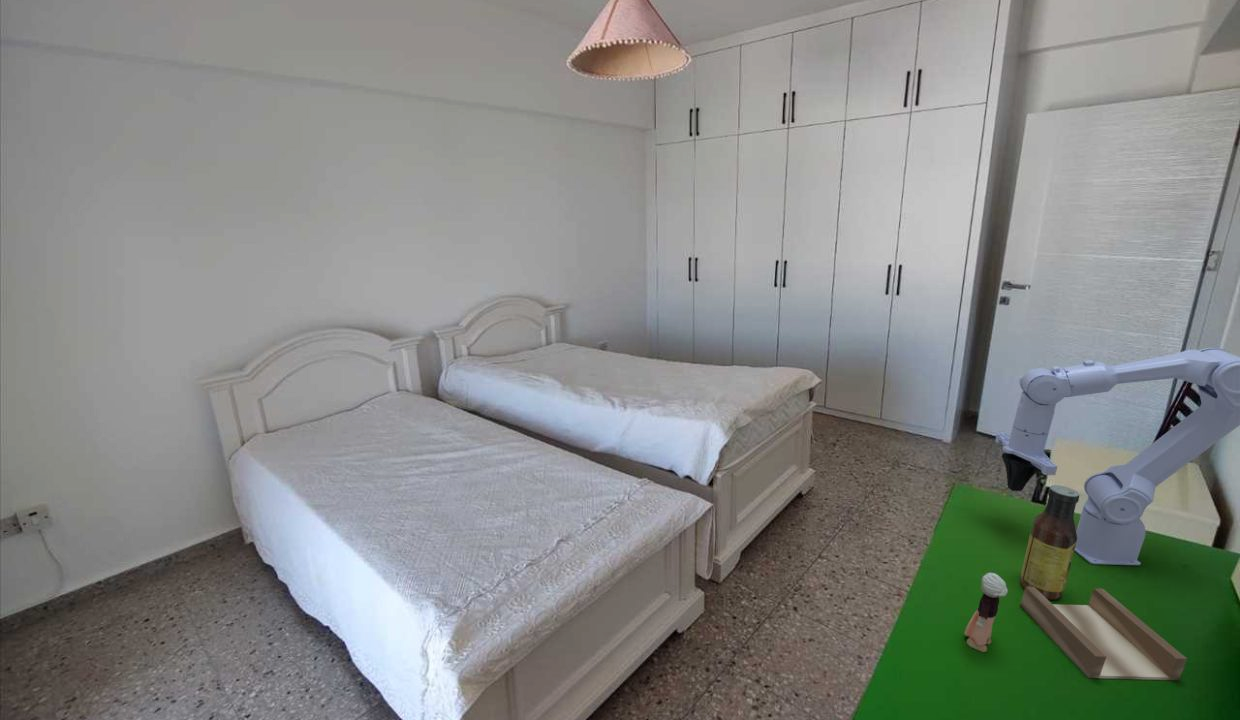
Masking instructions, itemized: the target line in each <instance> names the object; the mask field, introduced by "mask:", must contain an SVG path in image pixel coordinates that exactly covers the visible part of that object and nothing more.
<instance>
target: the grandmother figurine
mask: <svg viewBox="0 0 1240 720" xmlns="http://www.w3.org/2000/svg"><path fill="white" fill-rule="evenodd" d="M980 588H981V591H982V593H983V594H982V596H981V597H980V599H979V604H978V608H977V610H975V612H974V614H973V615H972V617H971V618H970V620H969V622H968V624H967V626H966V628H965V630H964V635H965V636H967V637H968V638H967V639H966V644H967V645H968V646H969V647H970V648H973V649H974V650H977V651H979V652H981V653H986V652H988V647H987V645H990V644H992V639H991V637H992V633H993V632H992V631H993V630H992V629H993V624H994V621H995V619H996V616H997V614H998V611H999V608H1000V605H999V604H1000V597H1005V596H1006V595H1008V592H1009V591H1008V588H1007V583H1006V582H1005V580H1004V579H1003V578H1001V576H999V575H998V574H997V573H994V572H987V573H986V574H984V575H983V576H982V578H981V585H980Z"/></svg>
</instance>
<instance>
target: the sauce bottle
mask: <svg viewBox="0 0 1240 720" xmlns="http://www.w3.org/2000/svg"><path fill="white" fill-rule="evenodd" d="M1047 494H1048V498H1047V502H1046V506H1045V509H1044V510H1043V511H1042V512H1041V513H1040V514H1038V515H1036V517H1035V519H1034V520H1033V524H1032V525H1033V526H1032V529H1031V531H1030V535H1029V538H1028V543H1027V546H1026V551H1025V556H1024V560H1023V562H1022V563H1023V565H1022V568H1021V572H1020V583H1021V586H1022V587H1023V588H1024V589H1025V587H1035V588H1036V589H1037V590H1038V591H1039V592H1040V593H1041V594H1042V595H1043V596H1044V597H1045V598H1046V599H1047V600H1058V599H1060V598H1061V596H1062V595H1063V591H1065V588H1066V584H1067V580H1068V577H1069V572H1070V568H1071V565H1072V560H1073V557H1074V553H1075V546H1076V542H1077V533H1076V530H1077V527H1076V522H1075V517H1074V516H1075V514H1074V513H1075V509H1076V506H1077V504H1078V502H1079V501H1080V493H1079V492H1078V491H1077V490H1075V489H1073V488H1070V487H1068V486H1063V485H1059V484H1058V485H1057V484H1053V485H1050V486H1049V489H1048V493H1047Z"/></svg>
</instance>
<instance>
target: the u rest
mask: <svg viewBox="0 0 1240 720" xmlns="http://www.w3.org/2000/svg"><path fill="white" fill-rule="evenodd" d="M1019 607H1021V608H1022V610H1023V612H1025V613H1026V614H1027V615H1028V616H1029V617H1030V618H1031V619H1032V620H1033V621H1034V622H1035V623H1036V624H1037V625H1038V626H1039V628H1040V629H1042V630H1043V632H1044V633H1045V634H1046V635H1047V636H1048V638H1050V639H1051V640H1052V641H1053V642H1054V643H1055V644H1056V645H1057V647H1059V649H1061V650H1062V652H1063V653H1064V654H1065V655H1066V656H1067V657H1068V658H1069V659H1070V660H1071V661H1072V662H1073V663H1074V664H1075V665H1076V666H1077V668H1079V669H1080V670H1081V672H1083V674H1084V675H1085V676H1086V677H1087V678H1089V679H1117V680H1118V679H1119V680H1150V681H1153V680H1155V681H1159V680H1160V681H1180V679H1181V675H1182V673H1183V670H1184V668H1185V666H1186V663H1187V660H1188V658H1187V657H1186V656H1185V655H1183V654H1182V653H1181V652H1180V651H1179V650H1177V649H1176V648H1175V647H1173V646H1172V645H1171V644H1170V643H1169V642H1167V640H1165V639H1164V637H1161V636H1160V635H1159V634H1158V632H1155V631H1154V630H1153V629H1152V628H1151V627H1150V626H1148V625H1147V624H1146V623H1145V622H1144V621H1142V619H1140V618H1138V616H1136V615H1135V614H1134V613H1133V612H1132V611H1130V610H1129V609H1128V608H1127V607H1126V606H1125V605H1123V604H1122V603H1121V602H1120V601H1118V600H1117V599H1116V598H1115V597H1113V596H1112V595H1111V594H1110V593H1108V592H1107V591H1106V590H1105V589H1104V588H1098V587H1097V588H1096V587H1095V588H1094V587H1093V590H1092V593H1091V595H1090V599H1089V601H1088V604H1058V603H1057V604H1053V603H1052V602H1050V600H1049V599H1046V598H1045V597H1044V596H1043V595H1042V594H1041V593H1040V592H1039V591H1038V590H1037V589H1036V588H1035V587H1025V588H1024V591H1023V594H1022V598H1021V601H1020V605H1019Z"/></svg>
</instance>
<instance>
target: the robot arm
mask: <svg viewBox="0 0 1240 720" xmlns="http://www.w3.org/2000/svg"><path fill="white" fill-rule="evenodd" d="M1170 379H1178V380H1181V381H1184V382H1188V383H1191V384H1195V385H1196V387H1197V388H1198V393H1199V398H1200V401H1201V405H1200V406H1199V407H1198V408H1196V409H1195V410H1194V411H1192V412H1191V413H1190V414H1189V415H1187V416H1186V417H1185V418H1183V419H1182V420H1180V422H1178V423H1177V424H1176V425H1175V426H1173V427H1172V428H1170V429H1169V430H1168V431H1166V433H1164V434H1163V435H1162V436H1160V437H1158V439H1157V440H1155V441H1154V442H1153V443H1151V444H1150V445H1149V446H1147V447H1146V448H1144V449H1143V450H1142V451H1141V452H1139V453H1138V454H1137V455H1136V456H1135V457H1133V458H1132V459H1131V460H1129V461H1127V462H1126V464H1120V465H1119V464H1118V465H1112V466H1110V467H1108V468H1107V469H1106V470H1104V471H1101V472H1096V473H1094V474H1092V475H1090V476H1089V477H1088V478H1086V480H1085V481H1084V484H1083V485H1084V486H1083V490H1084V492H1085V493H1086V495H1087V496H1088V497H1087V499H1086V501H1085V502H1084V505H1083V506H1082V510H1081V514H1080V518H1079V521H1078V524H1077V527H1076V533H1077V542H1076V546H1075V550H1074V552H1075V553H1077V554H1078V555H1079V556H1081V557H1082V558H1083V559H1084V560H1085V561H1087V562H1089V563H1090V564H1091V565H1112V566H1113V565H1116V566H1118V565H1119V566H1140V565H1141V562H1140V561H1139V560H1138V558H1139V556H1140V552H1141V549H1142V547H1143V544H1144V540H1145V538H1146V534H1147V533H1146V526H1145V525H1144V523H1143V521H1142V519H1141V518H1142V516H1143V514H1144V512H1145V510H1146V508H1147V507H1148V506H1149V505H1151V504H1152V503H1153V502H1154V498H1155V491H1156V487H1157V486H1159V485H1160V484H1162V483H1163V482H1164V481H1166V480H1167V479H1168V478H1170V477H1171V476H1172V475H1173V474H1175V473H1176V472H1178V471H1179V470H1181V469H1182V468H1184V467H1185V466H1186V465H1188V464H1189V463H1191V462H1192V461H1193V460H1194V459H1196V458H1197V457H1198V456H1200V455H1201V454H1203V453H1204V452H1205V451H1206V450H1208V449H1210V448H1211V447H1212V446H1214V445H1215V444H1216V443H1217V442H1219V441H1221V440H1222V439H1224V438H1225V437H1226V436H1227V435H1228V434H1230V433H1232V431H1234V430H1236V429H1237V428H1239V426H1240V356H1238V355H1235V354H1233V353H1231V352H1230V351H1227V350H1225V349H1223V348H1219V347H1207V348H1201V349H1199V350H1198V349H1187V350H1184V351H1180V352H1176V353H1174V354H1168V355H1162V356H1157V357H1152V358H1147V359H1142V360H1138V361H1137V360H1136V361H1131V362H1126V363H1121V364H1116V365H1115V364H1114V365H1108V364H1106V363H1105V362H1102V361H1094V360H1093V359H1086V360H1083V361H1082V363H1081V364H1075V365H1069V366H1068V365H1067V366H1063V367H1060V366H1058V365H1055V366H1052V367H1051V369H1047V368H1046V369H1045V368H1044V367H1040V368H1039V367H1037V368H1033V369H1030V370H1028V372H1025V373H1024V374H1023V375H1022V377H1021V378H1019V382H1018V383H1019V385H1020V388H1021V390H1022V392H1021V395H1020V398H1019V402H1018V404H1017V408H1016V413H1015V416H1014V421H1013V423H1012V428H1011V432H1010V435H1009V434H1008V433H996V437H995V440H994V441H995V443H997V444H1001V445H1002V451H1004V453H1002V454H1001V458H1002V460H1003V463H1004V466H1005V472H1006V479H1007V480H1006V484H1007V488H1008V489H1009V490H1011V492H1022V491H1023V490H1024V488H1025V487H1026V485H1027V483H1029V482H1030V480H1031V479H1032V477H1033V476H1035V475H1036V474H1037V473H1039V472H1040V471H1041V472H1040V473H1042V475H1044V476H1056V473H1057V471H1058V467H1059V466H1058V465H1056V464H1055V463H1054V462H1053V461H1052V460H1051V459H1050V457H1048V455H1047V454H1046V453H1045V449H1046V444H1047V440H1048V436H1049V433H1050V429H1051V425H1052V423H1053V419H1054V414H1055V410H1056V407H1057V406H1056V405H1057V404H1058V403H1060V402H1061V401H1062V400H1063V399H1064V398H1072V397H1078V396H1079V397H1080V396H1086V395H1094V394H1101V393H1108V392H1110V391H1112V389H1113V388H1114V387H1115V386H1116V385H1118V384H1131V383H1138V382H1140V383H1141V382H1150V381H1159V380H1170Z"/></svg>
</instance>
